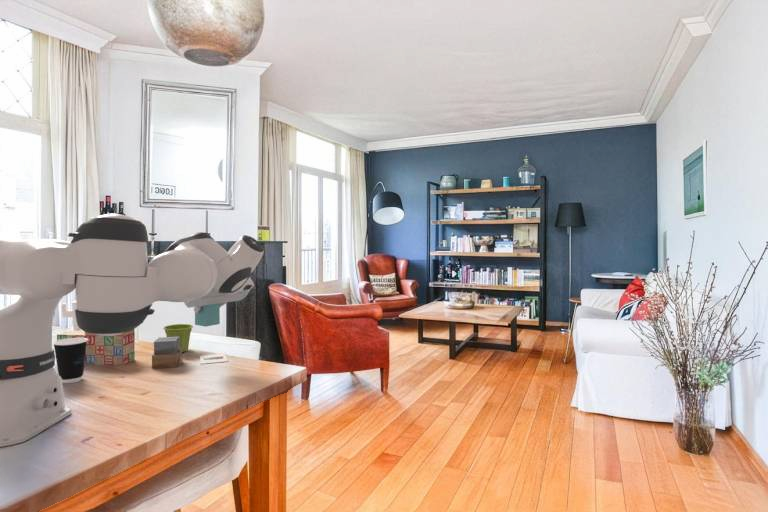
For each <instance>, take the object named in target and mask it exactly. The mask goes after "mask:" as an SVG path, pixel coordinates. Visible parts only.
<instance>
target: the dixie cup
mask: <svg viewBox="0 0 768 512" xmlns="http://www.w3.org/2000/svg"><path fill="white" fill-rule="evenodd" d="M87 341H88V339H87V338H67V339H61V340H57V339H56V340H55V341H53V342H52V345H53V347H54V355H55V360H56V361H55V362H56V367H57V372H58V373H57V374H58V375H59V376H60V377H61V378H62V384H70V383H71V384H72V383H76V382H79V381H81V380H82V379H83V375H84V369H85V364H84V361H85V352H86V343H87Z"/></svg>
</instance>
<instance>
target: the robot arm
mask: <svg viewBox="0 0 768 512" xmlns="http://www.w3.org/2000/svg"><path fill="white" fill-rule="evenodd" d="M67 237H72V240H70V241H69V240H63V239H57V238H56V239H55V238H0V295H9V296H10V295H11V296H20V297H19V298H18V300H17V301H16V302H14V303H12V304H11V305H8V306H6V307H3V308H2V309H0V448H2V447H8V446H12V445H17V444H20V443H24V442H27V441H28V440H30V439H31V438H34V437H35V436H36V435H39V434H40V433H42V432H43V431H44V430H45V431H46V429H48V428H50V427H51V426H53V425H55V424H56V423H58V422H60V421H61V420H63V419H65V418H66V417H68V416H70V415H71V414H72V408H70V407H68V406H66V405H65V395H64V387H63V383H62V378H61V377H60V376H59V374H58V373H57V372H56V369H55V368H54V366H55V365H56V364H55V362H56V361H55V360H56V355H55V349H53V347H52V345H53V342H52V340H53V339H52V338H53V323H54V322H53V321H54V315H55V312H56V309H57V307H58V305H59V303H60V301H61V300H62V298H63V297H65V296H67V295H69V294H70V293H72V292H73V291H74V290H75V301H76V303H77V309H76V310H75V315H76V321H77V324H78V327H79V328H80V329H82V330H83V331H84V332H87V333H92V334H95V335H99V336H116V335H120V334H123V333H125V332H130V331H132V330H133V329H134V330H135V329H137V328H138V327H139V326H141V325H142V324H143V323H144V321H145V320H146V319H147V318H148V316H150V315H153V314H154V313H155V311H156V310H155V309H154V308H151V307H152V306H153V304H154V303H155V302H170V303H184V305H185V307H186V308H189V309H190V308H193V311H194V314H195V313H200V312H201V311H202V310H203V309H202V306H205V305H212V304H219V303H220V308H221V307H223V306H224V305H227V304H228V303H232V302H238V301H242V300H243V299H245V297H247V296H248V294H249V293H250V291H251V290H252V289H253V288H254V287H255V284H254V281H253V279H252V278H251V275H252V273H253V272H254V271H255V269H256V267H258V264H259V263H260V261H261V259H262V257H263V255H264V252H265V249H264V247H263V245H262V244H261V243H260V242H259V241H258V240H257V239H255V237H252V236H250V235H245V234H244V235H241V236H240V237H239V238H238V239H237V241H236V242H235V243H234V244H232V245H231V247H230V248H229V249H228V251H227V250H226V249H225V248H224V247H223V246H222V245H220V244H219V243H218V242H217V241H216V240H215V239H214V238H213V237H212V236H211V235H210V233H208V232H202V231H201V232H195V233H193V234H191V235H190V236H187V237H183V238H180V239H177V240H176V241H174V242H172V243H171V244H170V245H169V246H168V247H167V248H166V249H165V250H164V251H163V252H162V253H159V254H158V255H156V256H154V257H153V258H152V259H150V260H149V262H148V259H149V257H148V247H147V246H148V245H147V244H148V243H149V236H148V231H147V226H146V225H145V224H144V223H143V222H141V221H140V220H136V219H135V218H133V217H131V216H129V215H124V214H121V213H106V214H102V215H98V216H92V217H90V218H88V219H87V220H85V221H84V222H82V223H81V224H80V225H79V226H78V228H77V229H76V231H75V232H69V233H68V235H67Z"/></svg>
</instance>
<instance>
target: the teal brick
mask: <svg viewBox="0 0 768 512" xmlns="http://www.w3.org/2000/svg"><path fill="white" fill-rule="evenodd" d="M202 309H203V310H202V311H201V312H200V313H195V312H194V325H195V326H200V327H211V326H215V325H220V324H221V323H220V322H221V321H220V320H221V318H220V316H221V315H220V314H221V313H220V312H221V311H220V310H221V307H220V303H219V304H212V305H205V306H202Z"/></svg>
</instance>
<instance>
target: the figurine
mask: <svg viewBox="0 0 768 512" xmlns="http://www.w3.org/2000/svg"><path fill="white" fill-rule="evenodd" d="M71 307H72V309H68V303H66V302H63V303H61V316H62V317H63V318H65V319H66V318H72V328H69V329H66V330H65V331H64V332H68V331H83V330H82V329H80V328H79V327H78V324H77V321H76V315H75V310H76V309H77V303H76V300H73V301H71ZM64 332H62V333H64Z"/></svg>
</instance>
